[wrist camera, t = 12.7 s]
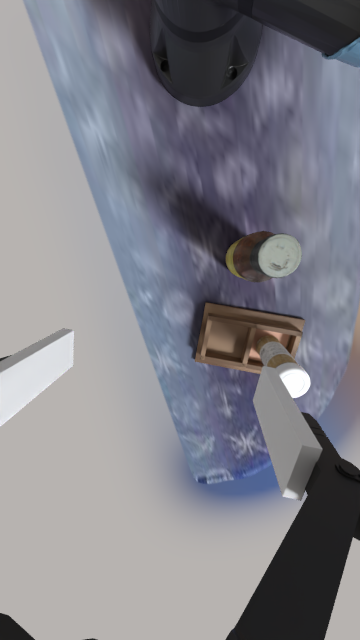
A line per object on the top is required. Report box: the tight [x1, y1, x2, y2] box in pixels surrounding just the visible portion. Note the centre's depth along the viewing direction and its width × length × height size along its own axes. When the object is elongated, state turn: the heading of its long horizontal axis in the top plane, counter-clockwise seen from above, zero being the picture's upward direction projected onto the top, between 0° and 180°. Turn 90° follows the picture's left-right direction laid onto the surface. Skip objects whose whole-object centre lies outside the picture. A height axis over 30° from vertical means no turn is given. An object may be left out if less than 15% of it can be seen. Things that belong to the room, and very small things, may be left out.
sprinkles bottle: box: [256, 335, 310, 398], centre depth 37 cm, size 5×5×14 cm
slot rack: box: [195, 302, 305, 374], centre depth 43 cm, size 12×18×3 cm, turn 81°
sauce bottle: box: [226, 231, 302, 282], centre depth 31 cm, size 6×6×20 cm
